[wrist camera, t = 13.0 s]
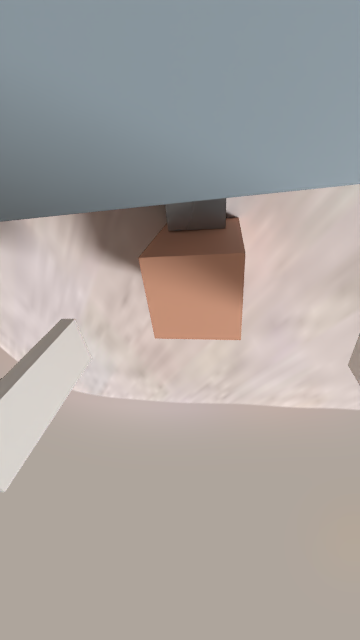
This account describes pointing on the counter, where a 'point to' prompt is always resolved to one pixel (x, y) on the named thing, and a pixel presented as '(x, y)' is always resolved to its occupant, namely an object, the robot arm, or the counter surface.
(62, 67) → the blue toy stool
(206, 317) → the block
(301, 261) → the counter surface
